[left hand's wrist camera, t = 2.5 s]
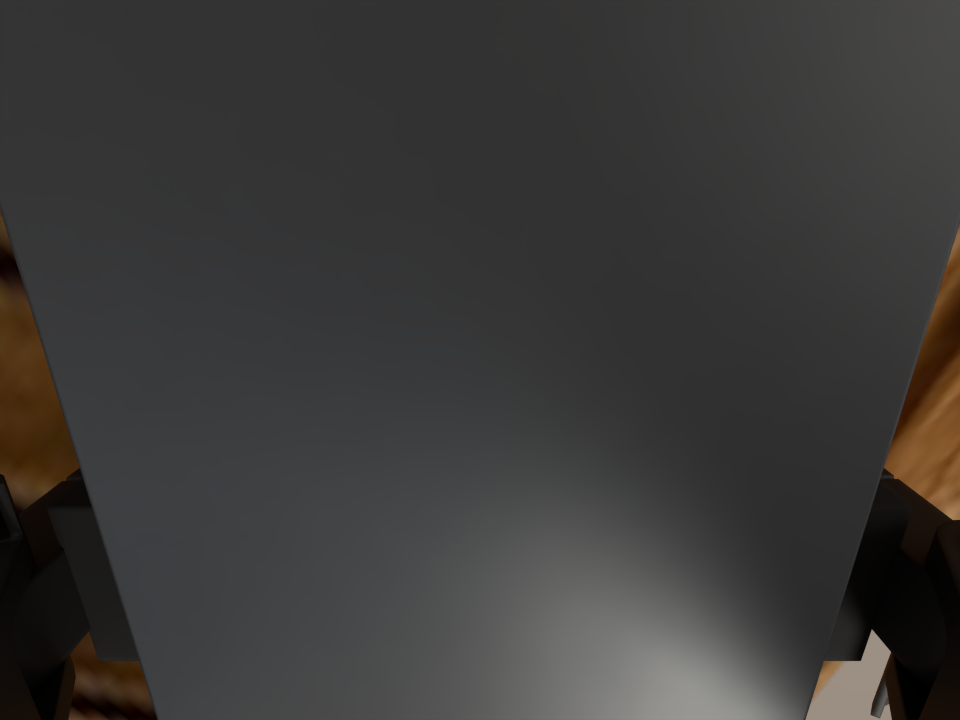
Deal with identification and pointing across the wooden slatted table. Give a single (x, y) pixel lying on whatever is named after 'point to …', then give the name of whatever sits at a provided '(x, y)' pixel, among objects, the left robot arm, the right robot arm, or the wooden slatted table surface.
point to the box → (481, 335)
